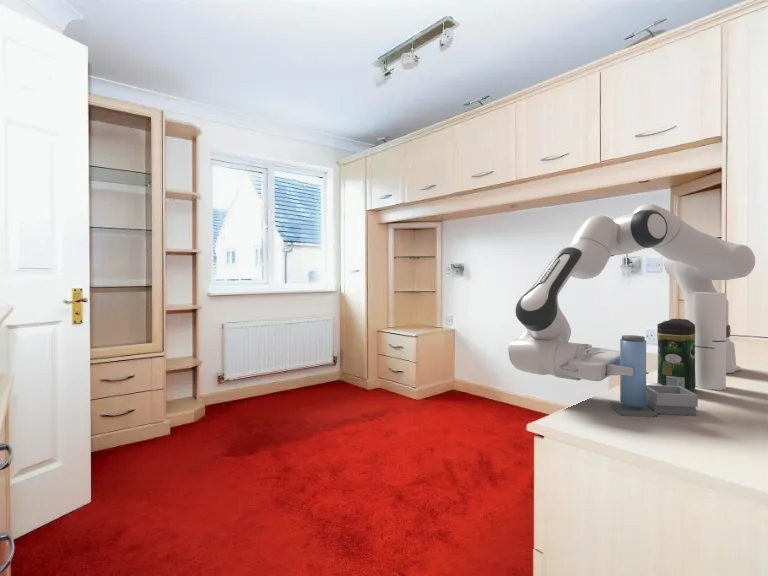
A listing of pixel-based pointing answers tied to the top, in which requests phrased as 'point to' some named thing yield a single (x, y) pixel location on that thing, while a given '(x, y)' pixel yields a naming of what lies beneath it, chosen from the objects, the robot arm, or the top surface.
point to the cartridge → (634, 357)
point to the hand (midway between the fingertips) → (637, 369)
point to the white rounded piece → (652, 383)
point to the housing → (671, 399)
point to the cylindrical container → (710, 340)
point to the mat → (633, 410)
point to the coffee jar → (676, 353)
